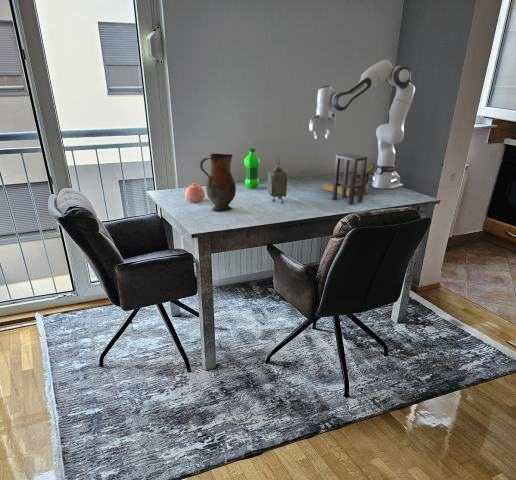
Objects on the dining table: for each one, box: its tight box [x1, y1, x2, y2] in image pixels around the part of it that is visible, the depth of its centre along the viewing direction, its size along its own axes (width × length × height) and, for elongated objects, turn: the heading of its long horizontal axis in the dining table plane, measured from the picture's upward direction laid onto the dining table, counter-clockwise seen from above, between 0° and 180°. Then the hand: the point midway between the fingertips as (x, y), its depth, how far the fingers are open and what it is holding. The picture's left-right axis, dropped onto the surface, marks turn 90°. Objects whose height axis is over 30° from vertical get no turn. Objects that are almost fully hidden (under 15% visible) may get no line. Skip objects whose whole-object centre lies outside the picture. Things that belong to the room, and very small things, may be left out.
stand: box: [332, 152, 368, 205], centre depth 284 cm, size 10×16×26 cm, turn 37°
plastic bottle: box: [243, 147, 261, 190], centre depth 313 cm, size 10×10×25 cm
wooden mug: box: [354, 162, 375, 196], centre depth 303 cm, size 9×14×18 cm, turn 115°
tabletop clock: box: [267, 157, 288, 204], centre depth 282 cm, size 14×9×25 cm, turn 9°
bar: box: [322, 183, 350, 197], centre depth 308 cm, size 3×24×3 cm, turn 37°
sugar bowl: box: [184, 182, 206, 203], centre depth 287 cm, size 12×14×10 cm
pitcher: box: [199, 153, 237, 212], centre depth 264 cm, size 17×21×30 cm
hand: (321, 138), depth 305 cm, fingers open, 8 cm apart
